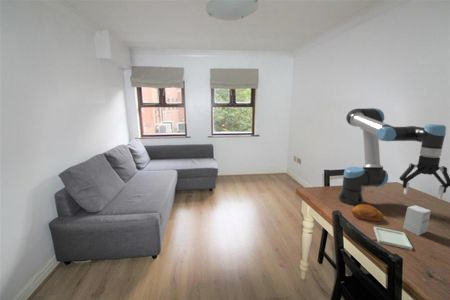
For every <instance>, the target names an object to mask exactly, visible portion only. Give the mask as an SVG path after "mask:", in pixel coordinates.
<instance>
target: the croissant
mask: <svg viewBox="0 0 450 300" xmlns="http://www.w3.org/2000/svg"><path fill="white" fill-rule="evenodd" d="M351 214H352V215H353V216H354V217H355V218H358V219H361V220H367V221H370V222H371V221H372V222H379V221H381V220H382V219H383V218H384V215H383V212H381V211H380V210H378V209H377V208H376V207H374V206H373V205H370V204H366V203H365V204H364V203H363V204H359V205H354V207H353V208H352V209H351Z"/></svg>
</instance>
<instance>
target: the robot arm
mask: <svg viewBox="0 0 450 300" xmlns="http://www.w3.org/2000/svg"><path fill="white" fill-rule="evenodd" d="M345 119H346V122H347V124H348V125H350V126H352V127H355V128H357V127H358V128H360V129H361V130H362V133H363V134H362V135H363V149H364V150H363V151H364V153H363V154H364V165H362V167H361V166H360V167H359V166H349V167H346V168H345V169H344V171H343V178H342V188H341V190H340V192H339V194H338V198H339V199H340V200H341V201H340V200H339V199H338V200H339V201H340V202H341V203H344V204H346V203H347V205H350V204H351V206H357V205H359V204H364V196H363V192H362V191H363V188H366V187H367V188H370V187H371V188H372V187H373V188H377V187H378V188H379V187H383V186H385V185H386V184H387V182H388V181H389V174H388V172H387V171H386V170H385V169H384V166H382V165H381V159H380V157H381V156H380V143H379V141H382V142H398V141H399V142H419V143H421V145H420V151H419V154H420V155H419V157H418V161H417V164H414V163H412V162H411V163H409V165H408V167H407V168H406V170H404V172H403V173H402V174H401V175H400V177H399V180H400V181H401V182H402V188H404V190H403V194H404V195H405V196H407V195H408V191H409V186H410V181H411V180H413V179H414V178H415V177H417V176H419V175H421V174H422V175H429V176H431V175H433V176H434V177H435V178H436V180H437V181H439V183H440V185H439V187H438V192H437V196H436V197H437V199H439V200H442V199H443V195H444V194H446V192H447V189H448V188H449V187H450V175H449V173H448V167H446V166H444V165H443V166H440V161H441V158H440V157H441V156H442V153H443V152H442V150H443V144H444V140H445V137H446V135H447V134H446V132H447V126H446V125H444V124H437V123H435V124H433V123H430V124H427V123H426V124H425V125H424V127H422V126H415V125H408V126H394V125H391V124H387V123H385V122H384V121H385V114H384V111H383V110H381V109H379V108H373V107H372V108H369V107H368V108H355V109H354V108H353V109H351V110H349V112H348V113H347V114H346V118H345ZM415 168H417V169H416V170H414V169H415ZM413 170H414V171H413ZM412 171H413V172H412ZM438 171H440V172H441V173H442V176H443V178H444V179H443V178H442V177H441V176H440V175H439V173H438ZM410 173H411V174H410Z"/></svg>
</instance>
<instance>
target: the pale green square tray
mask: <svg viewBox="0 0 450 300" xmlns="http://www.w3.org/2000/svg"><path fill="white" fill-rule="evenodd" d="M373 231H374V234H375V237H376V240H377V242H378V243H379V244H384V245H387V246H392V247H396V248H400V249H401V248H402V249H406V250H410V251H413V245H412V244H411V242H410V240H409V239H408V236H407V234H406V233H405V232H404V231H403V232H402V231H398V230H394V229H388V228H383V227H379V226H373Z"/></svg>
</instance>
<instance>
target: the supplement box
mask: <svg viewBox="0 0 450 300" xmlns="http://www.w3.org/2000/svg"><path fill="white" fill-rule="evenodd" d="M431 213H432V210H430V209H428V208H426V207H425V208H424V207H421V206H419V205H416V204H415V205H411V206H408V207H407V208H406V213H405V217H404V222H403V230H406V231H408V232H410V233H412V234H414V235H416V236H420V235H422V234H425V233H427V232H428V227H429V223H430V222H429V221H430V219H431V218H430V216H431Z"/></svg>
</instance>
